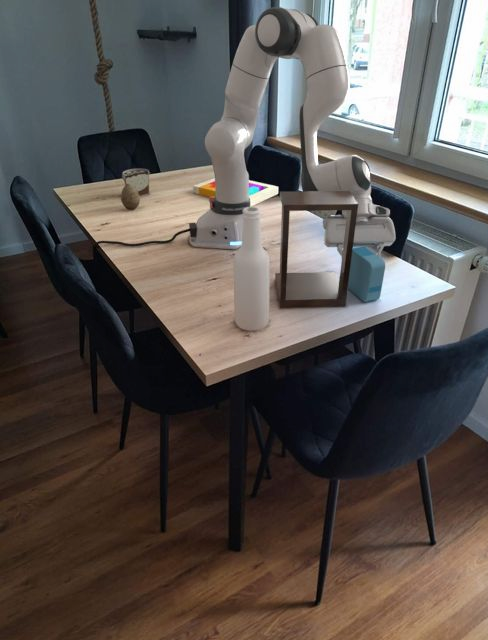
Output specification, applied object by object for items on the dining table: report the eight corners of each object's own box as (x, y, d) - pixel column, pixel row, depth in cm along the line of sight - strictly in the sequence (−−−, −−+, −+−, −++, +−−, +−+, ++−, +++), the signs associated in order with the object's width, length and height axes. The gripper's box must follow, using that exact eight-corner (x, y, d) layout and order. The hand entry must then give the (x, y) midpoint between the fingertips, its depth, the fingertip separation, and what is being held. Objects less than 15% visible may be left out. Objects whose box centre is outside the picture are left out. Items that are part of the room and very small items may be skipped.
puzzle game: (224, 181, 224) (179, 198, 204) (223, 174, 222) (179, 191, 202) (278, 193, 210) (236, 213, 190) (278, 186, 208) (236, 205, 188)
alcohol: (230, 329, 123) (227, 214, 105) (239, 312, 130) (237, 201, 112) (264, 333, 121) (266, 218, 104) (271, 315, 128) (274, 204, 111)
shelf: (279, 308, 132) (283, 204, 115) (275, 280, 145) (277, 184, 128) (345, 306, 133) (358, 204, 116) (334, 279, 146) (345, 183, 129)
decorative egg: (118, 210, 192) (114, 184, 186) (132, 205, 197) (128, 180, 191) (131, 213, 189) (127, 187, 183) (144, 208, 193) (141, 183, 188)
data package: (379, 301, 135) (386, 262, 128) (365, 304, 134) (372, 264, 127) (357, 282, 144) (362, 244, 137) (344, 285, 143) (348, 247, 136)
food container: (144, 189, 212) (141, 166, 207) (152, 193, 209) (149, 169, 203) (119, 195, 206) (115, 171, 200) (127, 199, 202) (123, 175, 196)
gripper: (324, 210, 137) (327, 257, 135) (395, 209, 138) (399, 255, 136) (320, 220, 143) (323, 264, 141) (388, 218, 144) (392, 263, 142)
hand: (361, 260), depth 138 cm, fingers open, 8 cm apart
